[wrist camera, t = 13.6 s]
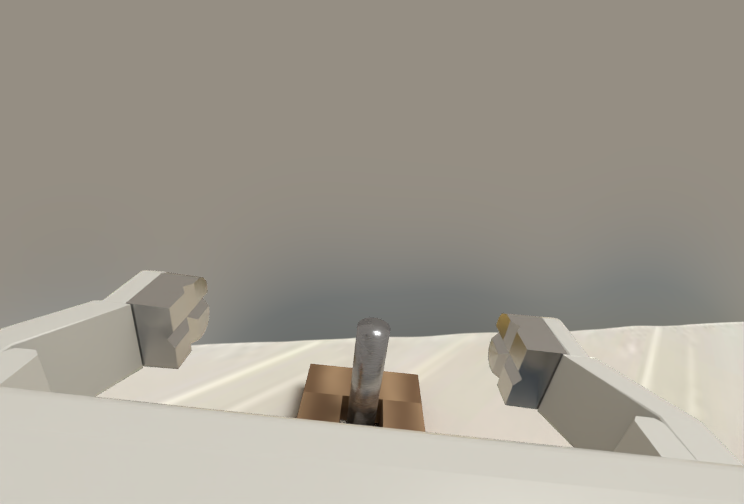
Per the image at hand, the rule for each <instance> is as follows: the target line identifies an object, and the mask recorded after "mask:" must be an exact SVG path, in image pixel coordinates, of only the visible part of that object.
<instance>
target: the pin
mask: <svg viewBox="0 0 744 504" xmlns="http://www.w3.org/2000/svg"><path fill="white" fill-rule="evenodd" d="M389 334H390V327H389V325H388V324H387V323H386V322H385V321H383V320H381V319H378V318H365V319H363V320H361V321H360V322H359V323H358V326H357V335H356V343H355V352H354V361H353V369H352V378H351V387H350V395H349V404H348V413H347V421H346V424H356V425H366V426H374V425H375V419H376V413H377V407H378V401H379V395H380V389H381V383H382V377H383V371H384V364H385V358H386V352H387V346H388V340H389Z"/></svg>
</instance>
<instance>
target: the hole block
mask: <svg viewBox="0 0 744 504" xmlns="http://www.w3.org/2000/svg"><path fill="white" fill-rule="evenodd" d="M352 369H353V368H346V367H337V366H327V365H317V364H311V365H310V369H309V373H308V376H307V380H306V384H305V388H304V392H303V396H302V400H301V403H300V407H299V411H298V415H297V418H299V419H308V420H318V421H327V422H337V423H340V419H342V420H347V413H348V404H349V395H350V387H351V378H352ZM375 423H379V427H385V428H394V429H404V430H413V431H422V432H425V426H424V419H423V411H422V403H421V396H420V388H419V380H418V375H415V374H405V373H395V372H385V371H383V377H382V383H381V389H380V395H379V401H378V407H377V413H376V419H375Z"/></svg>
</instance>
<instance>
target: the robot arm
mask: <svg viewBox="0 0 744 504" xmlns="http://www.w3.org/2000/svg"><path fill="white" fill-rule="evenodd" d="M207 292H208V290H207V282H206V280H205V279H204V278H203V277H198V276H190V275H183V274H176V273H169V272H162V271H153V270H143V271H141V272H140V273H139V274H137V275H136V276H135V277H133V278H132V279H131V280H129V281H128V282H127V283H125V284H124V285H123V286H121V287H120V288H118V289H117V290H116V291H114V292H113V293H112V294H110V295H109V296H108V297H106V298H105V299H104V300H102V301H97V300H95V301H91V302H88V303H85V304H82V305H78V306H75V307H71V308H68V309H65V310H61V311H58V312H55V313H51V314H48V315H45V316H42V317H38V318H35V319H31V320H28V321H25V322H21V323H18V324H15V325H12V326H8V327H5V328H2V329H0V504H744V465H743V464H742V463H741V462H740V461H739V460H738V459H737V458H736V457H735V456H734V455H733V453H732V452H731V451H730V450H729V449H728V448H727V447H726V446H725V445H724V444H723V443H722V442H721V441H720V440H719V439H718V438H717V437H716V436H715V435H714V434H713V433H712V432H711V431H710V430H709V429H708V428H707V427H706V426H705V425H704V424H703V423H702V422H701V421H699V420H698V419H696V418H694V417H693V416H691V415H689V414H688V413H686V412H684V411H683V410H681V409H679V408H678V407H676V406H674V405H673V404H671V403H669V402H668V401H666V400H664V399H663V398H661V397H660V396H658V395H656V394H655V393H653V392H651V391H650V390H648V389H646V388H645V387H643V386H641V385H640V384H638V383H636V382H635V381H633V380H631V379H630V378H628V377H626V376H625V375H623V374H621V373H620V372H618V371H616V370H615V369H613V368H611V367H610V366H608V365H606V364H605V363H603V362H601V361H600V360H598V359H596V358H592V357H589V356H588V355H587V353H586V352H585V351H584V349H583V348H582V347H581V346H580V344H579V343H578V342H577V341H576V339H575V338H574V337H573V336H572V334H571V333H570V332H569V331H568V329H567V328H566V327H565V326H564V324H563V323H562V322H561V321H560V320H559V319H557V318H550V317H536V316H526V315H515V314H503V313H502V314H501V315H500V317H499V318H498V321H497V324H496V327H497V329H498V331H499V333H498V334H497V335H495V336H494V337H493V338H492V339H491V342H490V345H489V351H488V360H489V365H490V368H491V371H492V373H494V374H495V375H496V376H497V377H498V378H499V381H498V384H497V386H498V388H499V391H500V393H501V396H502V398H503V401H504V403H505V405H509V406H516V407H523V408H531V409H538V412H539V413H540V414H541V415H542V416H543V417H544V418H545V419H546V420H547V421H548V422H549V423H550V424H551V425H552V426H553V427H554V428H555V429H556V430H557V431H558V432H559V433H560V434H561V435H562V436H563V437H564V438H565V439H566V440H567V441H568V442H569V443H570V444H571V445H572V446H573V447H574V448H572V447H563V446H553V445H544V444H534V443H525V442H516V441H506V440H497V439H488V438H478V437H469V436H460V435H450V434H441V433H432V432H422V431H413V430H404V429H394V428H385V427H375V426H366V425H356V424H346V423H337V422H327V421H318V420H308V419H299V418H289V417H280V416H270V415H261V414H252V413H242V412H233V411H224V410H214V409H205V408H195V407H186V406H177V405H167V404H158V403H149V402H139V401H130V400H120V399H111V398H102V397H96V396H97V395H99V394H101V393H102V392H104V391H106V390H107V389H109V388H110V387H112V386H114V385H115V384H117V383H119V382H120V381H122V380H124V379H125V378H127V377H129V376H130V375H132V374H134V373H135V372H137V371H139V370H140V369H142V368H143V366H146V367H159V368H171V369H179V367H180V366H181V365H182V363H183V362H184V360H185V359H186V358H187V356H188V355H189V354H190V352H191V351H192V350H191V344H192V343H193V342H195V341H197V340H200V338H201V337H202V336H203V334H204V333H205V330H206V328H207V325H208V322H209V305H208V304H207V303H206V301H205V300H204V299H203V297H204V296H205V294H206V293H207Z"/></svg>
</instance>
